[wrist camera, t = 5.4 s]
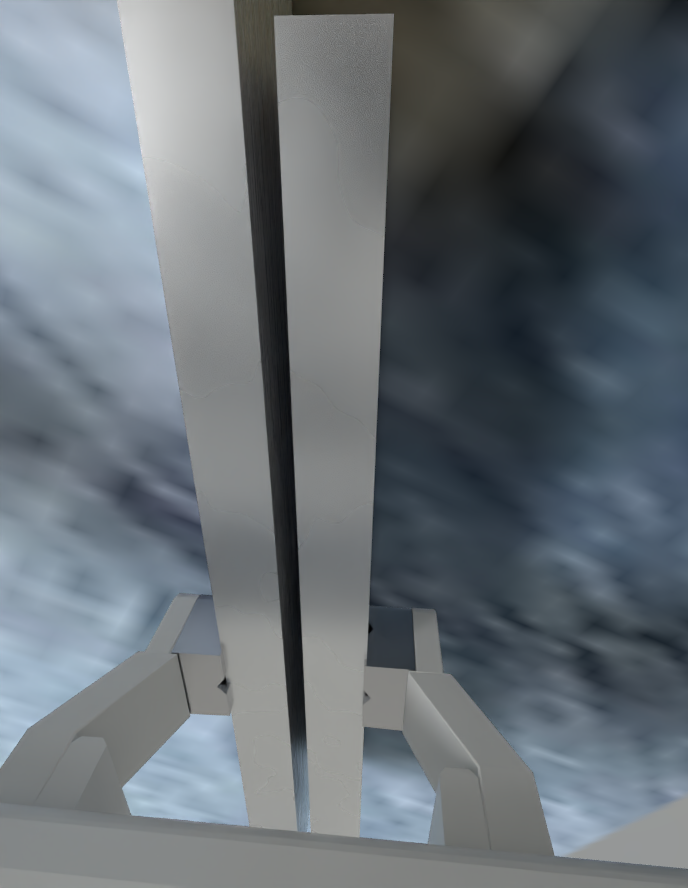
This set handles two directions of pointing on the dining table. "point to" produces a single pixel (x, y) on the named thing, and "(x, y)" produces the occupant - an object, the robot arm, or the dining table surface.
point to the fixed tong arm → (231, 352)
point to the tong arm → (334, 365)
